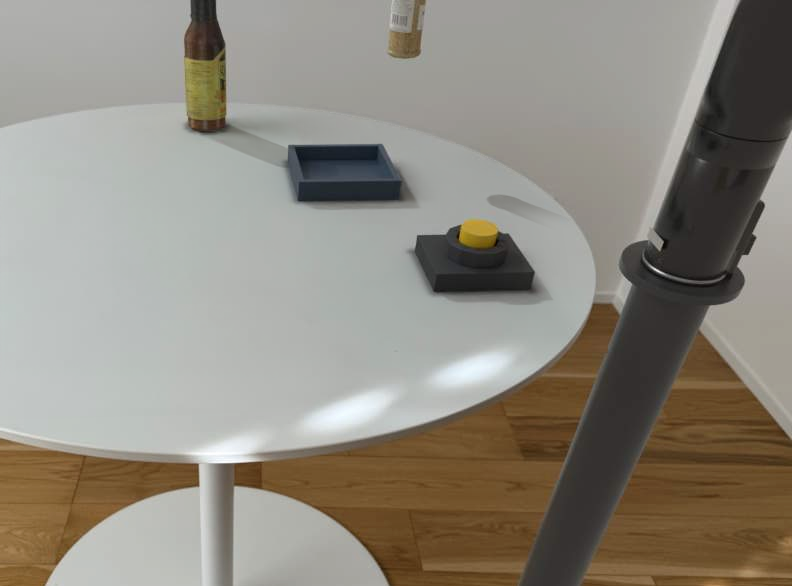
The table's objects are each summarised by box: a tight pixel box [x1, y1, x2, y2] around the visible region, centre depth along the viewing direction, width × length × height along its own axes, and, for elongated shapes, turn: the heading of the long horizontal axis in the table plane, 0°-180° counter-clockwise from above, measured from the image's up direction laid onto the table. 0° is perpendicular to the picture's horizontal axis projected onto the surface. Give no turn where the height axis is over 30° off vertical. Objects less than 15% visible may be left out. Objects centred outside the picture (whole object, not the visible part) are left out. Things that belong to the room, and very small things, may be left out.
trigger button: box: [459, 218, 499, 249], centre depth 87 cm, size 4×4×2 cm
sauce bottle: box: [183, 0, 227, 132], centre depth 117 cm, size 6×6×20 cm
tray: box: [286, 143, 403, 202], centre depth 108 cm, size 14×13×3 cm
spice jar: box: [386, 0, 427, 60], centre depth 101 cm, size 5×5×14 cm
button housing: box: [414, 224, 536, 292], centre depth 89 cm, size 11×9×4 cm
